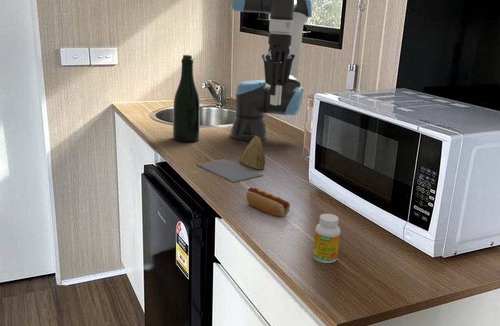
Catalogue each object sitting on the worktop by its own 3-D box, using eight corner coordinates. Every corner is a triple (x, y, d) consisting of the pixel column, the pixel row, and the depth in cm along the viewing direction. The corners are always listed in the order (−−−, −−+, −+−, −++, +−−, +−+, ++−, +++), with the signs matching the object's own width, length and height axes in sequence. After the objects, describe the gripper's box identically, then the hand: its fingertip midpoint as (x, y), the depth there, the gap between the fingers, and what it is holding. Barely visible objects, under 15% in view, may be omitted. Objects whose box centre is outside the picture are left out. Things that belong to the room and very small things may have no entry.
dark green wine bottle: (192, 135, 201) (193, 53, 191) (203, 141, 193) (206, 56, 183) (168, 137, 196) (168, 53, 186) (179, 144, 187) (180, 56, 177)
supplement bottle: (314, 263, 105) (319, 222, 102) (310, 251, 110) (314, 211, 107) (339, 264, 105) (344, 223, 102) (334, 252, 110) (338, 212, 107)
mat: (224, 159, 172) (224, 158, 172) (262, 175, 158) (263, 174, 157) (196, 165, 164) (196, 164, 164) (234, 182, 150) (234, 181, 150)
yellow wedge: (273, 164, 162) (270, 151, 171) (259, 145, 159) (257, 133, 168) (246, 181, 164) (245, 167, 173) (231, 162, 161) (231, 149, 170)
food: (241, 204, 134) (242, 187, 133) (255, 200, 138) (256, 183, 136) (279, 221, 125) (280, 203, 123) (293, 216, 129) (294, 198, 127)
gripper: (272, 33, 152) (267, 108, 160) (303, 34, 161) (297, 104, 168) (256, 32, 158) (252, 104, 165) (287, 32, 167) (282, 100, 174)
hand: (275, 104), depth 167 cm, fingers closed
